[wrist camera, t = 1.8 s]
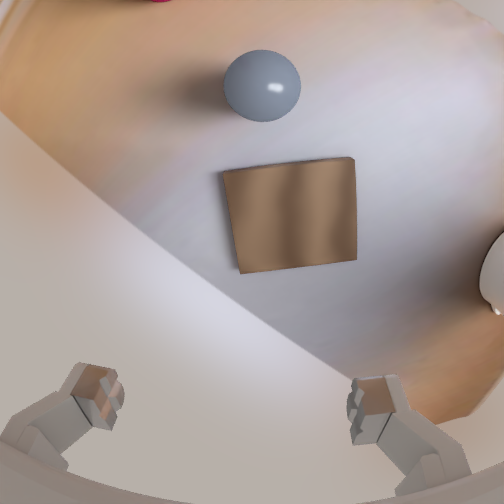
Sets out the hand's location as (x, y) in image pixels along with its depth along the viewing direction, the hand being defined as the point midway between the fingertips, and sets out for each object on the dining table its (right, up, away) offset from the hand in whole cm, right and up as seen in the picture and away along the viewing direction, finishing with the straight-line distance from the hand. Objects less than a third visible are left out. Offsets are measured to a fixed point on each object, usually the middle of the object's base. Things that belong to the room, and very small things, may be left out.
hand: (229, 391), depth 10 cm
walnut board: (+5, +9, +26) cm, 28 cm away
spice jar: (+2, +21, +20) cm, 29 cm away
